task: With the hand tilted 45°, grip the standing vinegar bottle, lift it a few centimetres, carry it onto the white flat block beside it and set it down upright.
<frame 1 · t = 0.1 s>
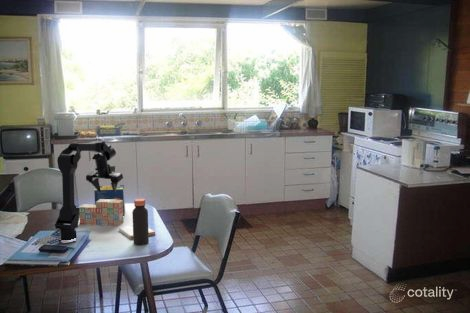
hand: (107, 191, 241), 15 cm above the table, tool pointing down, fingers open, 9 cm apart
protein box: (110, 215, 254), on the table
vinegar: (141, 243, 208), on the table
stack of blocks: (101, 223, 238), on the table
white flat block: (136, 232, 223), on the table
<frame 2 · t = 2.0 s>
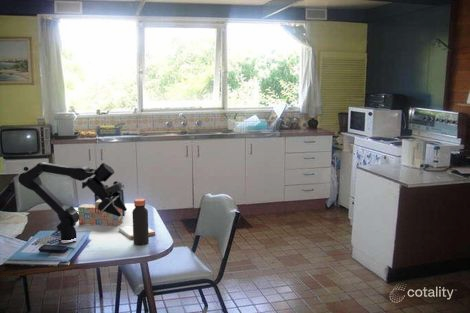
hand: (123, 213, 208), 13 cm above the table, tool tilted 45°, fingers open, 9 cm apart
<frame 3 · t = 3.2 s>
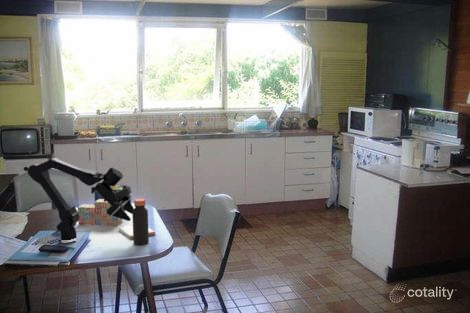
hand: (133, 217, 206), 12 cm above the table, tool tilted 45°, fingers open, 9 cm apart
nothing on the table moved.
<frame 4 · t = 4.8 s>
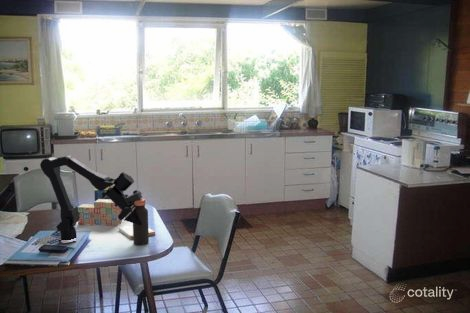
hand: (143, 222, 206), 10 cm above the table, tool tilted 45°, fingers closed on vinegar, 7 cm apart
vinegar: (141, 243, 208), on the table, touching gripper
everything else where it was.
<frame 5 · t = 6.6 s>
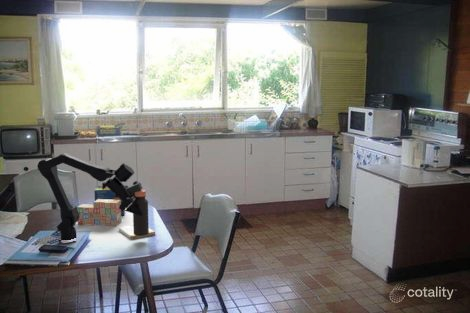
hand: (143, 213, 208), 13 cm above the table, tool tilted 45°, fingers closed on vinegar, 7 cm apart
vinegar: (141, 234, 210), point 3 cm above the table, touching gripper
when the fingers open (12 cm above the table, at t = 8.5 s): vinegar stays where it is, resting on white flat block.
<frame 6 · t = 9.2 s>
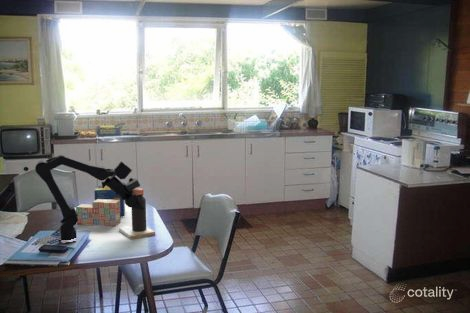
hand: (141, 207, 221), 13 cm above the table, tool tilted 45°, fingers open, 9 cm apart
vinegar: (139, 230, 222), point 1 cm above the table, touching white flat block
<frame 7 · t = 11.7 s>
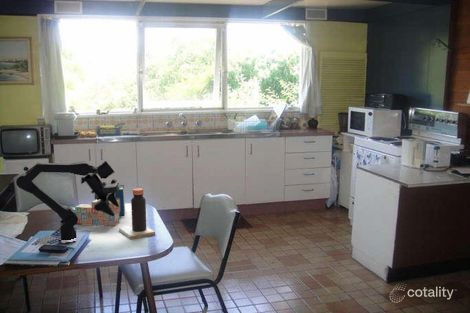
hand: (115, 210, 217), 12 cm above the table, tool tilted 30°, fingers open, 9 cm apart
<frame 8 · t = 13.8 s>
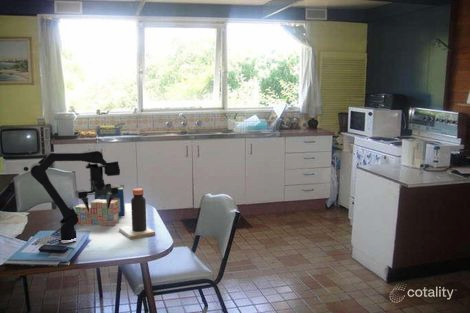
hand: (98, 210, 215), 13 cm above the table, tool pointing down, fingers open, 9 cm apart
at the end: vinegar inside the target area (0.1 cm from its centre), point 1.3 cm above the table; vinegar tilted 0°; the gripper is holding nothing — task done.
